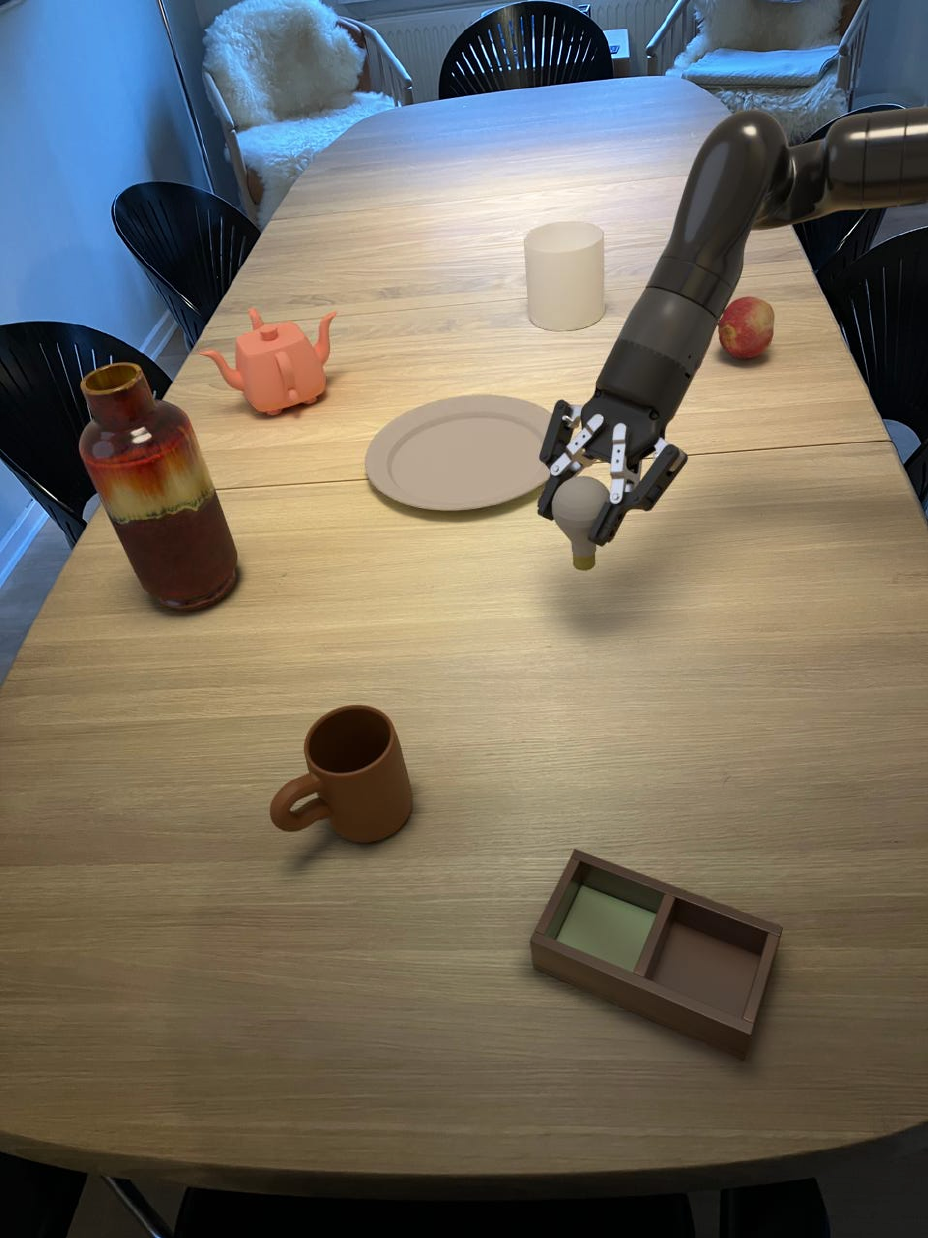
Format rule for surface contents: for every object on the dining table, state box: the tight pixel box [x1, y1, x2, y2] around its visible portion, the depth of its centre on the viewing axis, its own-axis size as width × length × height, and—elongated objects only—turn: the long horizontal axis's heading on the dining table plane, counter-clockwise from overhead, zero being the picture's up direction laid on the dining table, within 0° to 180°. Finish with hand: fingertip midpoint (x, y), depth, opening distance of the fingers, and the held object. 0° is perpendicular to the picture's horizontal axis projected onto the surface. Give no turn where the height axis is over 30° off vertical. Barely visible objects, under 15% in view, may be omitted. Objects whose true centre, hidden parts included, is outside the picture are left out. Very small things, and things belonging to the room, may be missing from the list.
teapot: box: [198, 307, 338, 416], centre depth 130 cm, size 14×14×11 cm
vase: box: [78, 362, 238, 613], centre depth 95 cm, size 11×11×26 cm
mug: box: [269, 704, 413, 843], centre depth 75 cm, size 12×8×9 cm, turn 134°
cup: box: [523, 220, 606, 332], centre depth 139 cm, size 12×12×12 cm
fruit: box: [717, 296, 776, 360], centre depth 125 cm, size 8×8×8 cm
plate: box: [364, 394, 553, 511], centre depth 116 cm, size 26×26×2 cm
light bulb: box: [552, 475, 610, 572], centre depth 84 cm, size 6×5×10 cm
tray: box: [529, 848, 784, 1061], centre depth 65 cm, size 8×15×4 cm, turn 62°
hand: (569, 529), depth 83 cm, fingers closed on light bulb, 5 cm apart
